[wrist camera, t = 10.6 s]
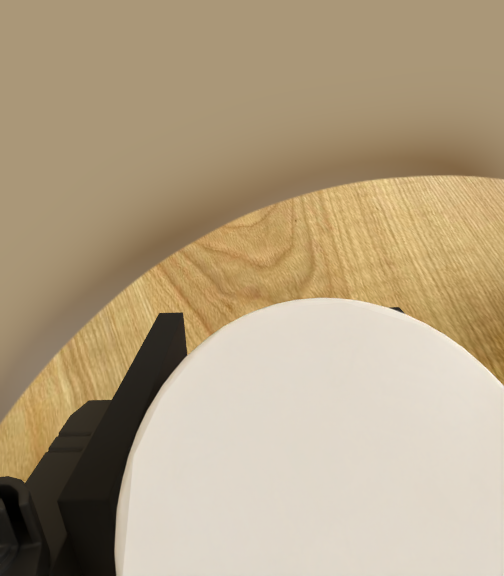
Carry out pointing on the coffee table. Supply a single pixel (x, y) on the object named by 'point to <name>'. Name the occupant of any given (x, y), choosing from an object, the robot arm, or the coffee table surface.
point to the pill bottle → (318, 452)
